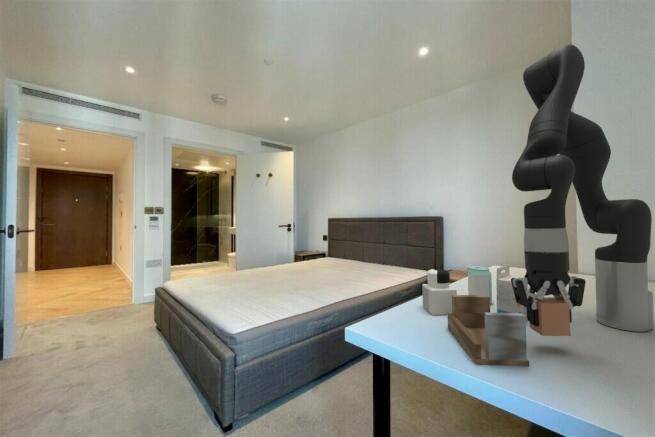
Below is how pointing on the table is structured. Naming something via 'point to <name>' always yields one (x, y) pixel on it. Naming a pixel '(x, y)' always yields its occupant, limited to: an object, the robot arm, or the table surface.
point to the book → (553, 318)
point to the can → (480, 281)
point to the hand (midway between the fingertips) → (549, 324)
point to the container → (438, 292)
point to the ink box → (507, 293)
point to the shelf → (488, 331)
